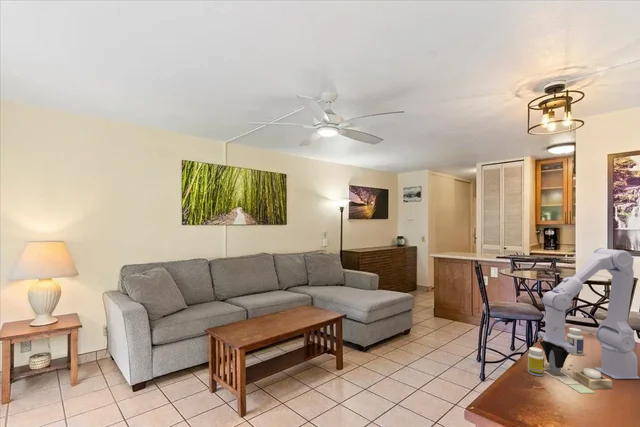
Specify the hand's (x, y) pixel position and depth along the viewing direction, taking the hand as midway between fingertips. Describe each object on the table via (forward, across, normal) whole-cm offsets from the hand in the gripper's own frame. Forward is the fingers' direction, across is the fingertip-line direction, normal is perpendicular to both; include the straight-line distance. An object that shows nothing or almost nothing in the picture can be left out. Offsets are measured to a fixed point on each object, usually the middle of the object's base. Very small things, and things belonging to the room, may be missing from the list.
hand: (554, 365), depth 118 cm
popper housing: (+3, +8, +7) cm, 11 cm away
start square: (+3, 0, 0) cm, 3 cm away
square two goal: (+3, +11, 0) cm, 11 cm away
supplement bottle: (+3, 0, -7) cm, 8 cm away
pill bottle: (+3, -17, +22) cm, 28 cm away
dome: (+1, +7, +7) cm, 10 cm away
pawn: (+1, 0, 0) cm, 1 cm away
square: (+3, +6, 0) cm, 6 cm away
